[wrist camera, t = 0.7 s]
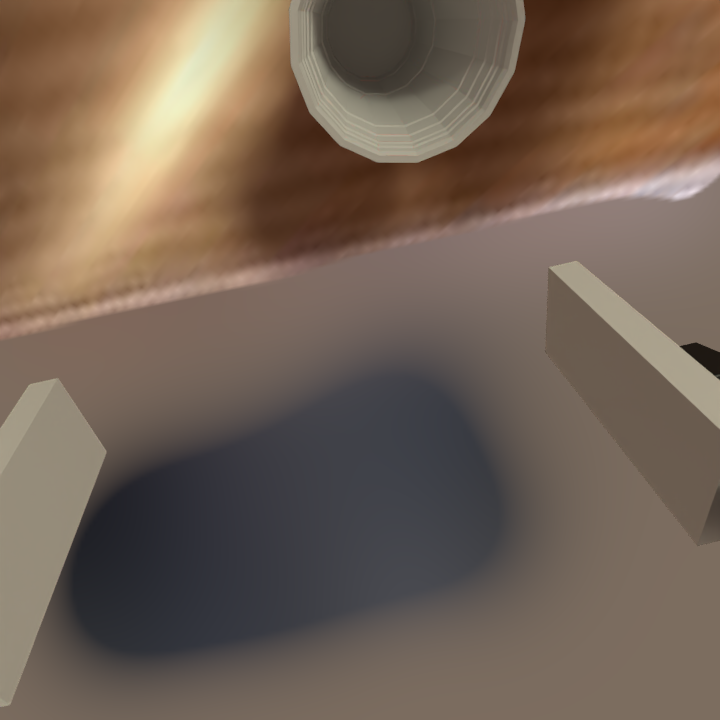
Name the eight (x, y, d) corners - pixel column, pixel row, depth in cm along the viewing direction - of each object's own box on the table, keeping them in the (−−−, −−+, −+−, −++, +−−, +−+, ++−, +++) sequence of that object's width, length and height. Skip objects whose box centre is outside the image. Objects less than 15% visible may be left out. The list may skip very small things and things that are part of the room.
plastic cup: (305, 139, 36) (316, 188, 26) (264, -59, 29) (257, -95, 20) (457, 108, 36) (526, 145, 26) (448, -95, 30) (533, -147, 20)
